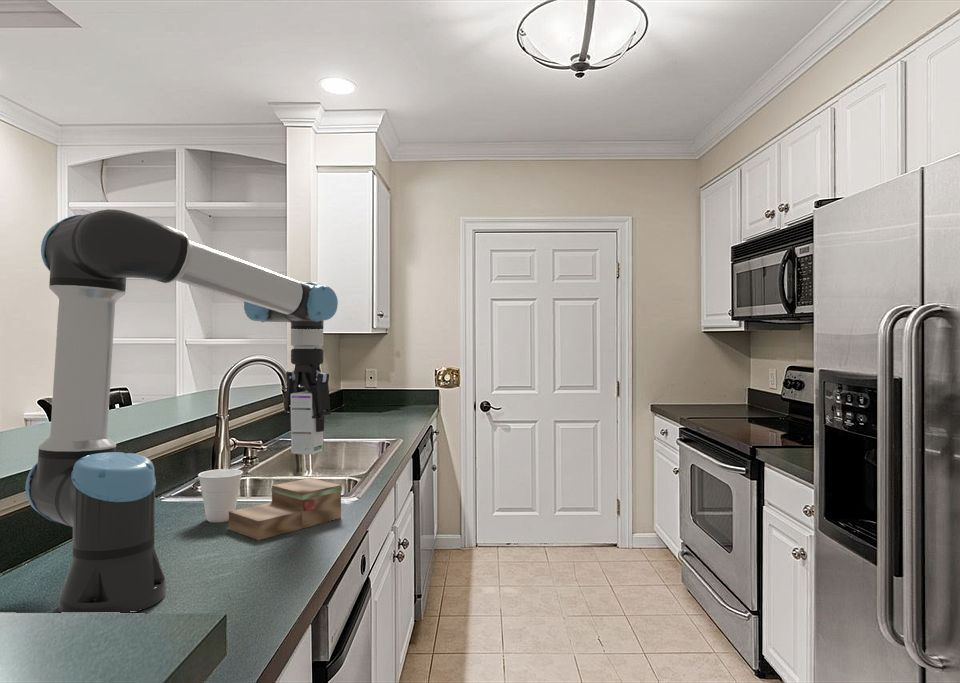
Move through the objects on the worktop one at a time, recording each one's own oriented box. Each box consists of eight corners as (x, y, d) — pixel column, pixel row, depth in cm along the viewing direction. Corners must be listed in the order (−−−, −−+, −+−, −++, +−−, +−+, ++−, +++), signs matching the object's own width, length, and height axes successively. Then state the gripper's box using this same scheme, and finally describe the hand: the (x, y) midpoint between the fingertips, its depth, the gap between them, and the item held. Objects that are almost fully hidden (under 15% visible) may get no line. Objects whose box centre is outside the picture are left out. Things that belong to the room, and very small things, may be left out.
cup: (191, 518, 154) (191, 472, 154) (233, 511, 161) (233, 467, 161) (206, 527, 147) (206, 479, 147) (249, 520, 154) (249, 473, 154)
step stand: (260, 540, 138) (260, 503, 138) (228, 529, 146) (228, 493, 146) (343, 518, 155) (343, 485, 155) (310, 509, 163) (310, 477, 163)
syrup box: (313, 455, 152) (313, 392, 152) (290, 453, 153) (290, 392, 153) (323, 450, 157) (324, 390, 157) (301, 449, 158) (301, 390, 158)
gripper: (347, 348, 151) (346, 446, 151) (295, 347, 164) (295, 437, 164) (320, 348, 146) (320, 450, 146) (269, 347, 158) (268, 441, 158)
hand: (307, 443), depth 155 cm, fingers closed on syrup box, 7 cm apart
